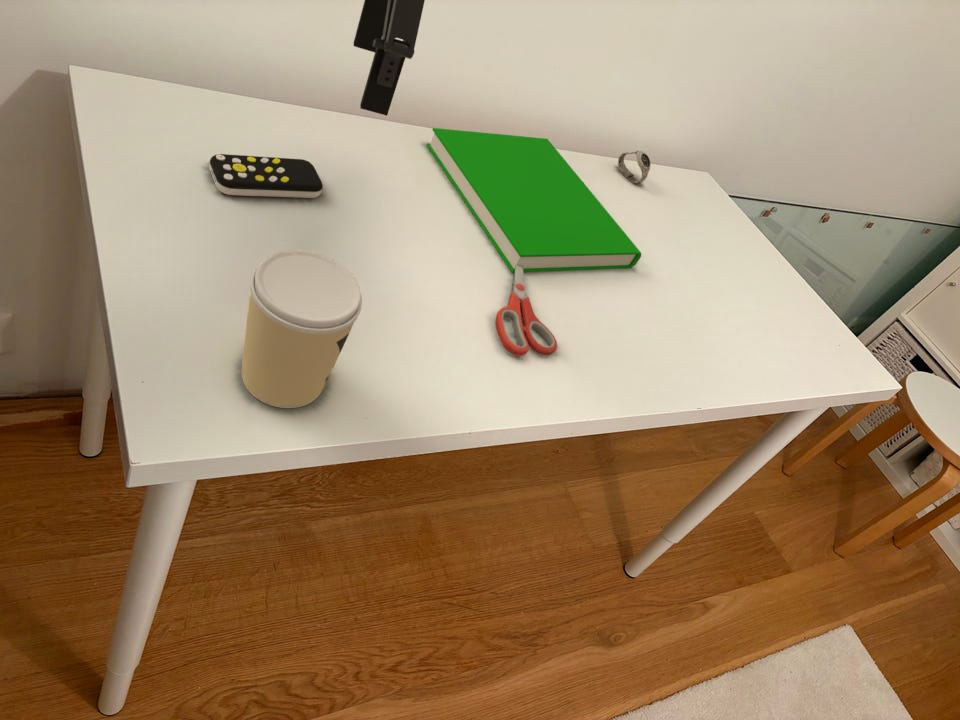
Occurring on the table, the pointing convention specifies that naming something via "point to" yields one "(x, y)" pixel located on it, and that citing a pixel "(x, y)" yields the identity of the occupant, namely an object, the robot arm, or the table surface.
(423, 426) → the table surface
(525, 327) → the scissors
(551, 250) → the book
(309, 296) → the coffee cup
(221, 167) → the remote control
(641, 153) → the wristwatch
